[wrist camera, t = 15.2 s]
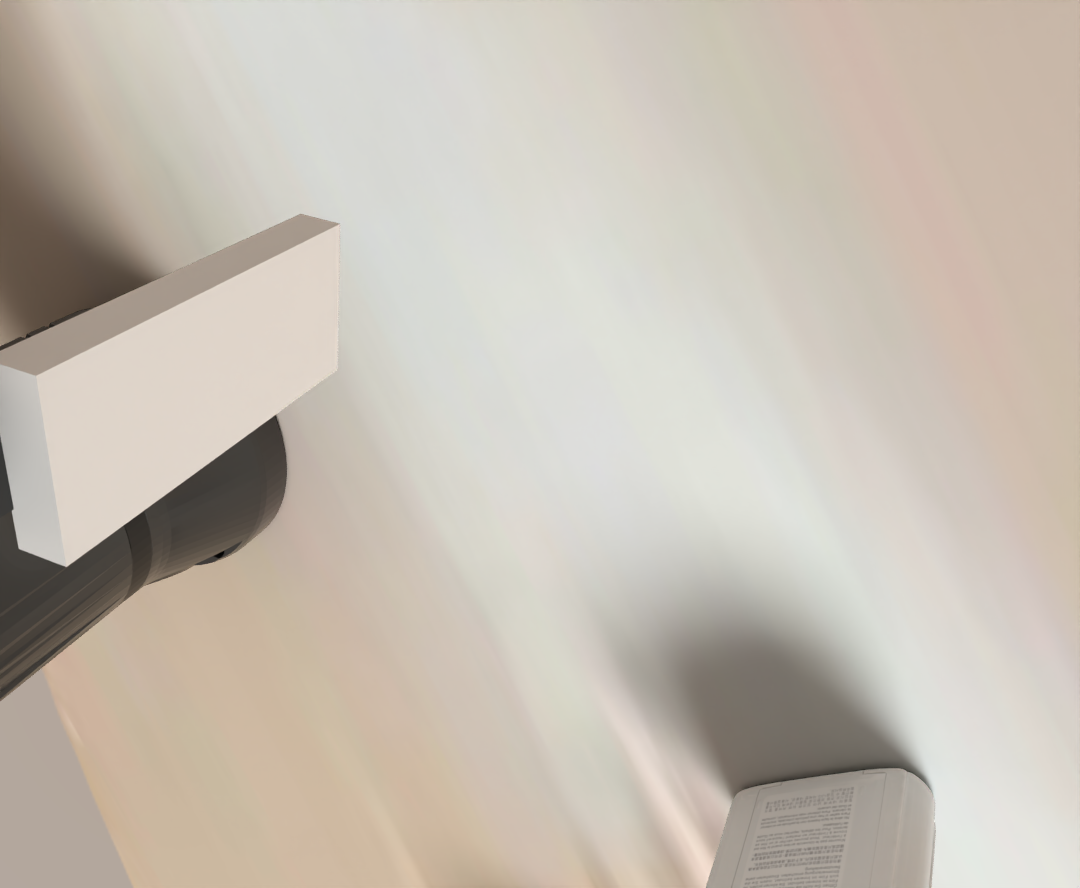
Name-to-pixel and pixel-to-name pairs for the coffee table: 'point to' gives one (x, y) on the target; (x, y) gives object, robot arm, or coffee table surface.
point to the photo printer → (830, 833)
